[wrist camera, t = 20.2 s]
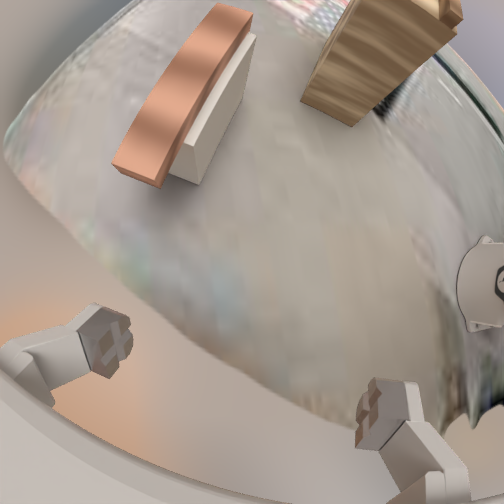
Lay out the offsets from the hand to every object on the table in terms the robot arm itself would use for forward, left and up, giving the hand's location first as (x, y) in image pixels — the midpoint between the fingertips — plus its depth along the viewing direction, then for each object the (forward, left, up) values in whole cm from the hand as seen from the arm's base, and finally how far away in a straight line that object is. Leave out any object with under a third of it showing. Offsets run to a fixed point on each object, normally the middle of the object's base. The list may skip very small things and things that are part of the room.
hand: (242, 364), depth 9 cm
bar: (+8, -18, -16) cm, 25 cm away
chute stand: (-11, -36, -31) cm, 48 cm away
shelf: (+7, -20, -31) cm, 37 cm away
